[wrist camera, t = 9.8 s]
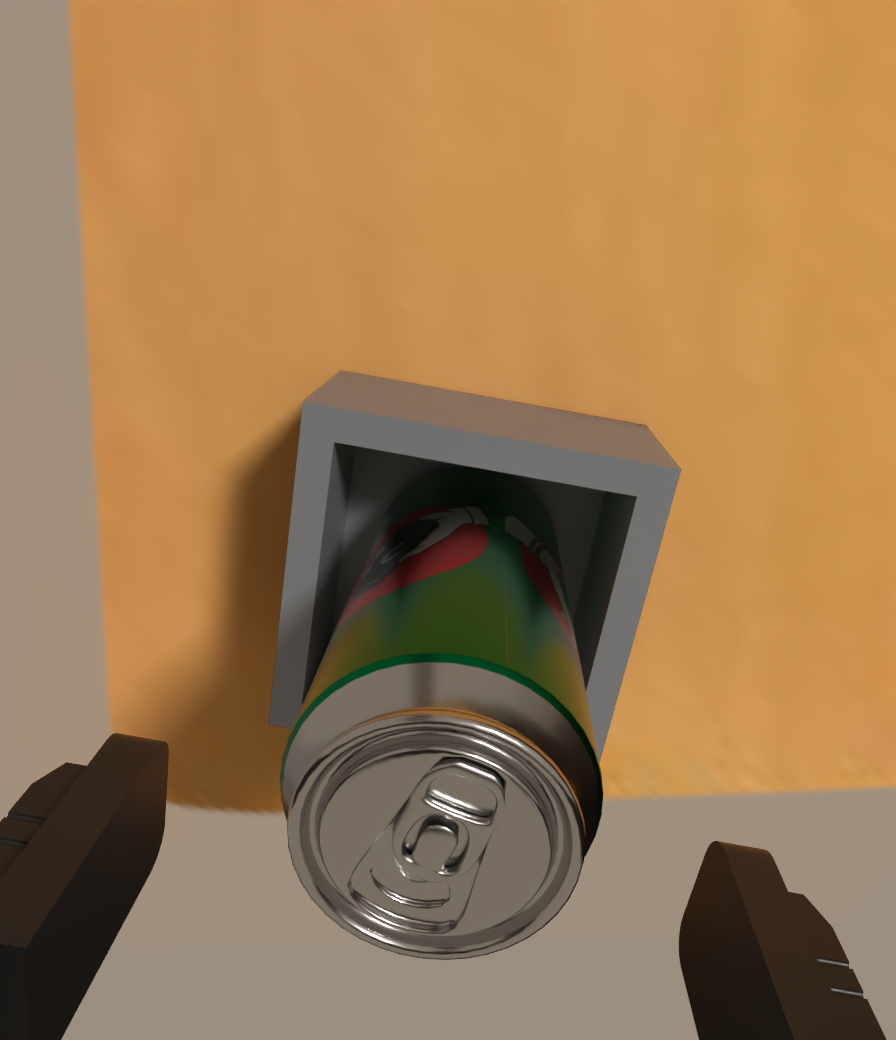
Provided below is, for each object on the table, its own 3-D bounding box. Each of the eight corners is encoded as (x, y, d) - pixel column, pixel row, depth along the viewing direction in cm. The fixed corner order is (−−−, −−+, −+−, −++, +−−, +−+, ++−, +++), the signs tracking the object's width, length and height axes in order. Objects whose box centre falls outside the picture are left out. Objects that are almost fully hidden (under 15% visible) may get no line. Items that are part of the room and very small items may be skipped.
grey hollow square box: (340, 370, 22) (302, 401, 18) (646, 425, 22) (681, 469, 18) (307, 642, 25) (268, 724, 21) (577, 690, 25) (593, 782, 21)
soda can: (353, 586, 23) (215, 909, 12) (419, 432, 22) (330, 637, 10) (510, 652, 24) (520, 1024, 12) (587, 504, 22) (678, 779, 11)
